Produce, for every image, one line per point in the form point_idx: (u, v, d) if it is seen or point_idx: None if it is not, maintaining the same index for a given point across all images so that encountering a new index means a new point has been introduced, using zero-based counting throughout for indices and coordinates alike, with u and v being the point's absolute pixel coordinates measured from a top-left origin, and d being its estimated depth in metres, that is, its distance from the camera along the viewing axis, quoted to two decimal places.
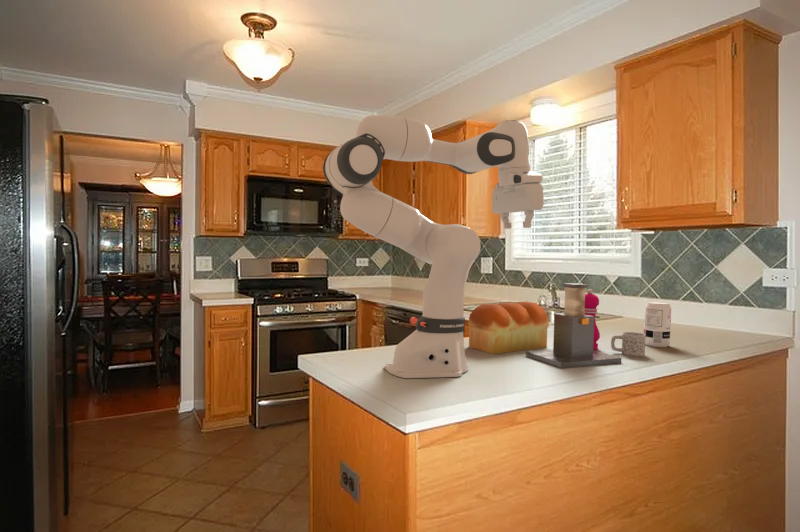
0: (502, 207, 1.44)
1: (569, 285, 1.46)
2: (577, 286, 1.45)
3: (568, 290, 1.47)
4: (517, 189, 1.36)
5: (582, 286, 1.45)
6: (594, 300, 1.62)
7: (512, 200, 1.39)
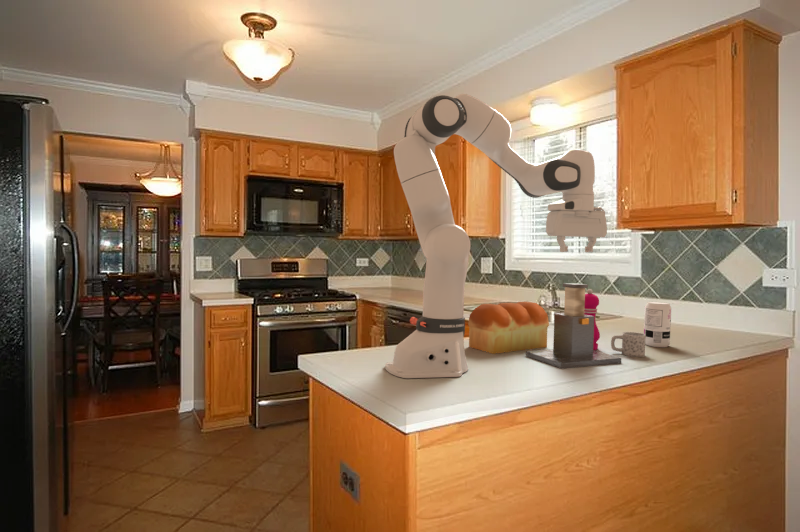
0: None
1: (569, 285, 1.46)
2: (577, 286, 1.45)
3: (568, 290, 1.47)
4: None
5: (582, 286, 1.45)
6: (594, 300, 1.62)
7: None
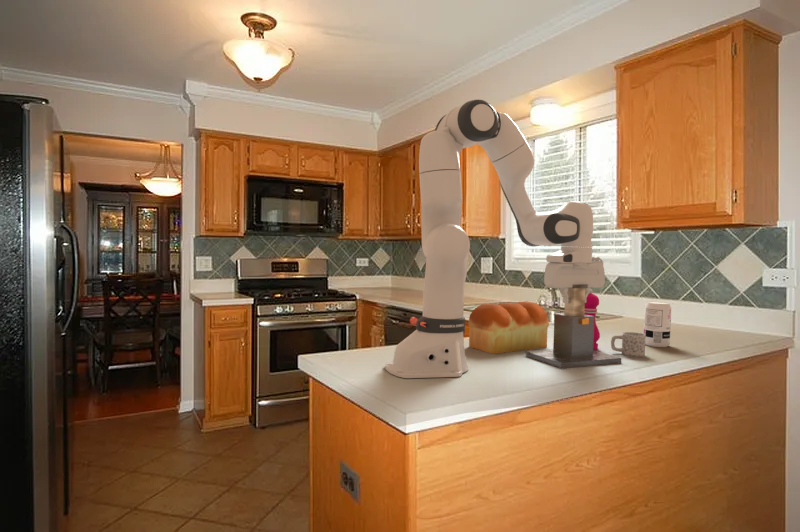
0: None
1: None
2: (577, 286, 1.45)
3: (568, 290, 1.47)
4: None
5: (582, 286, 1.45)
6: (595, 300, 1.62)
7: None
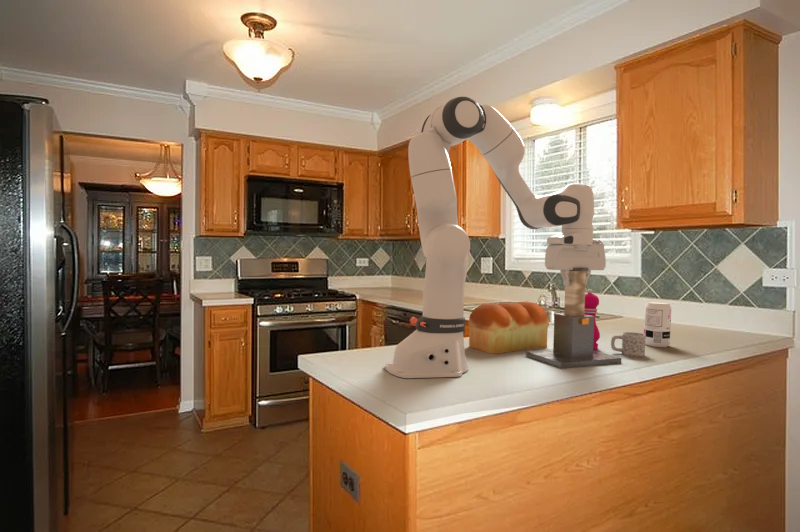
0: None
1: None
2: (578, 269, 1.44)
3: (569, 273, 1.47)
4: None
5: (583, 269, 1.45)
6: (594, 300, 1.62)
7: None
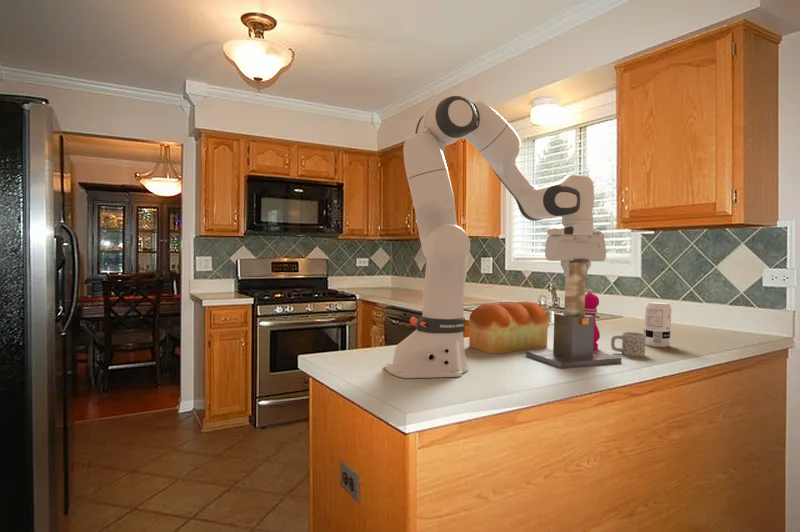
0: None
1: None
2: (578, 261, 1.44)
3: (569, 265, 1.47)
4: None
5: (583, 261, 1.45)
6: (594, 300, 1.62)
7: None
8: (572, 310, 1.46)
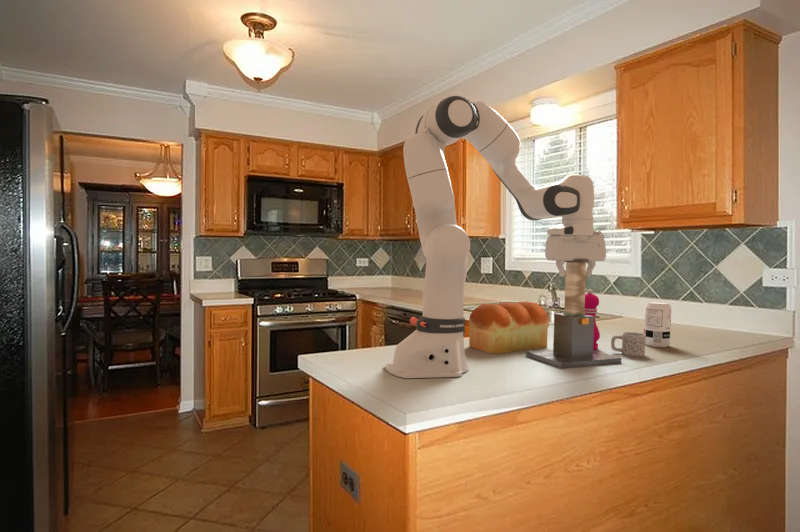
0: None
1: None
2: (578, 260, 1.44)
3: (569, 265, 1.47)
4: None
5: (583, 261, 1.45)
6: (594, 300, 1.62)
7: None
8: (572, 310, 1.46)
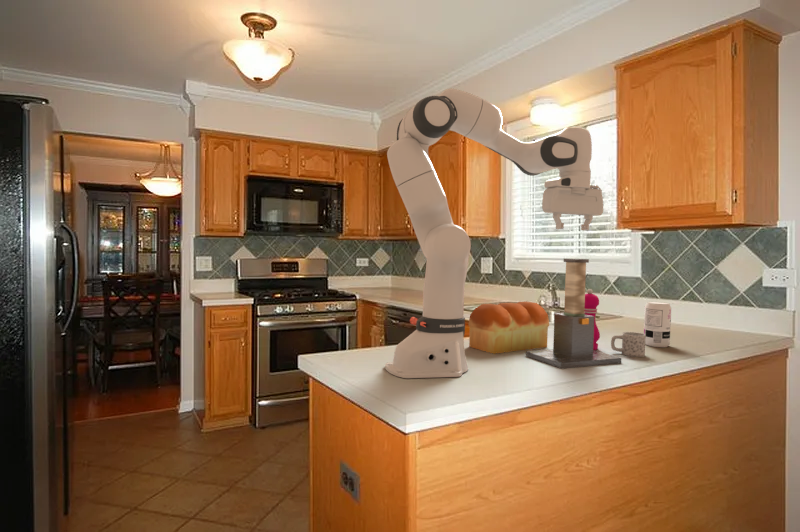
0: None
1: (570, 260, 1.46)
2: (578, 260, 1.44)
3: (569, 265, 1.47)
4: None
5: (583, 261, 1.45)
6: (595, 300, 1.62)
7: None
8: (572, 310, 1.46)
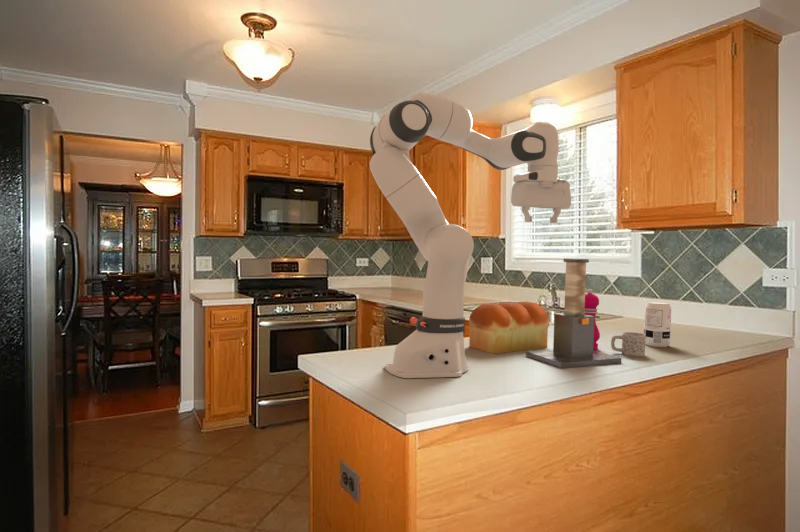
0: None
1: (570, 260, 1.46)
2: (578, 260, 1.44)
3: (569, 265, 1.47)
4: None
5: (583, 261, 1.45)
6: (595, 300, 1.62)
7: None
8: (572, 310, 1.46)
